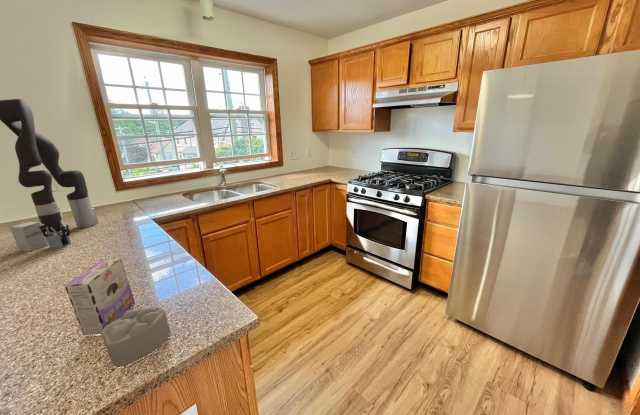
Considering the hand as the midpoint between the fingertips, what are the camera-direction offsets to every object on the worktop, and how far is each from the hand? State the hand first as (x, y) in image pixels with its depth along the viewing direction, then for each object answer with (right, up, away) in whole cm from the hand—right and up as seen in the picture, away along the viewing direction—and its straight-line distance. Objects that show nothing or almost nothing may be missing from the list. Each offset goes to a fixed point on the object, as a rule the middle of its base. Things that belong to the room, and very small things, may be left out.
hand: (60, 244), depth 131 cm
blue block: (0, -1, 0) cm, 1 cm away
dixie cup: (-31, +7, +30) cm, 44 cm away
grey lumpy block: (+84, -17, -63) cm, 107 cm away
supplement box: (-12, -2, -1) cm, 12 cm away
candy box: (+68, -15, -53) cm, 88 cm away
